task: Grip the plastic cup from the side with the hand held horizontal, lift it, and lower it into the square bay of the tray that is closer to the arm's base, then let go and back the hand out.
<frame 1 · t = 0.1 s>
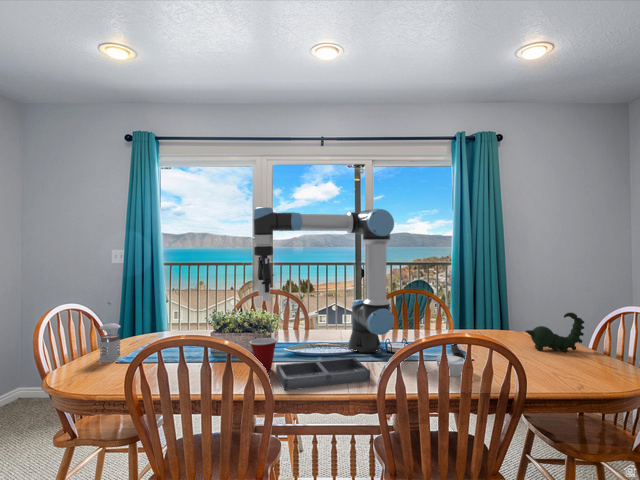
hand: (264, 298, 167), 28 cm above the table, tool pointing down, fingers open, 13 cm apart
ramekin: (450, 373, 161), on the table
tray: (322, 377, 155), on the table
french press: (109, 358, 179), on the table
plastic cup: (263, 370, 164), on the table
toy figurine: (553, 350, 191), on the table
hand tool: (454, 355, 184), on the table
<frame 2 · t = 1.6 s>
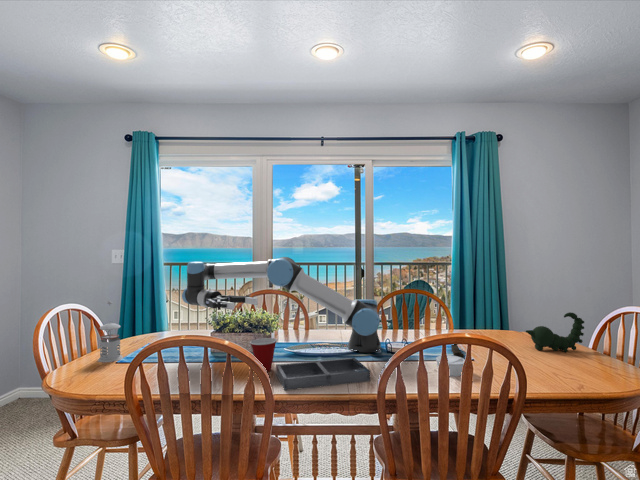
hand: (245, 303, 169), 25 cm above the table, tool horizontal, fingers open, 13 cm apart
nothing on the table moved.
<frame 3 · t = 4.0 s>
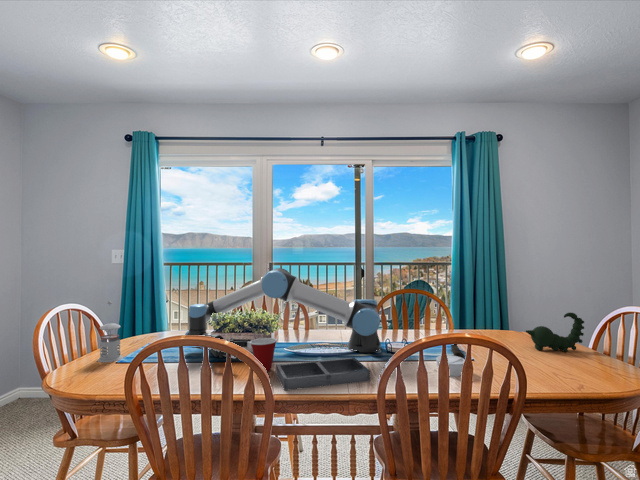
hand: (247, 350, 168), 6 cm above the table, tool horizontal, fingers open, 13 cm apart
nothing on the table moved.
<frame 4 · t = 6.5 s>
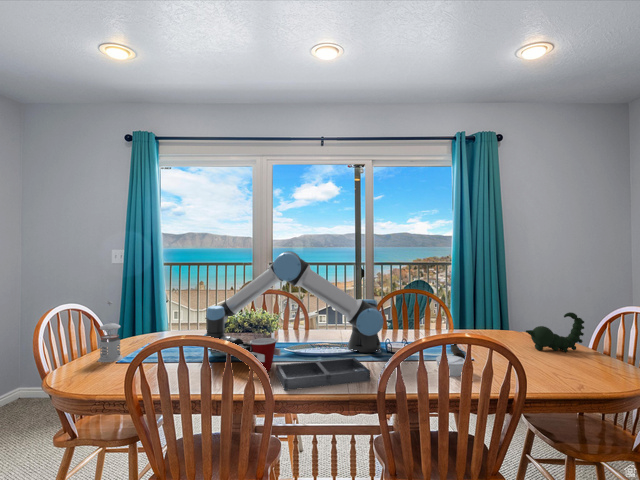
hand: (272, 355, 161), 7 cm above the table, tool horizontal, fingers closed on plastic cup, 9 cm apart
plastic cup: (263, 370, 164), on the table, touching gripper
everything else where it was.
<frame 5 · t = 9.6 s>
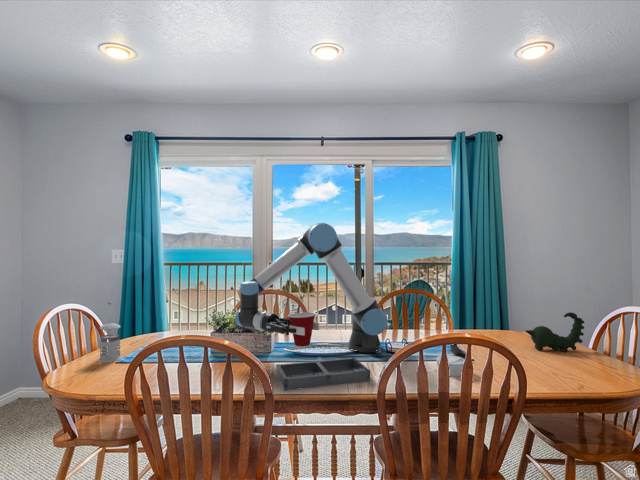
hand: (311, 329, 156), 18 cm above the table, tool horizontal, fingers closed on plastic cup, 9 cm apart
plastic cup: (301, 344, 158), point 11 cm above the table, touching gripper
everything else where it was.
when the fingers open (9 cm above the table, at t = 12.7 s): plastic cup drops 2 cm, point 1 cm above the table.
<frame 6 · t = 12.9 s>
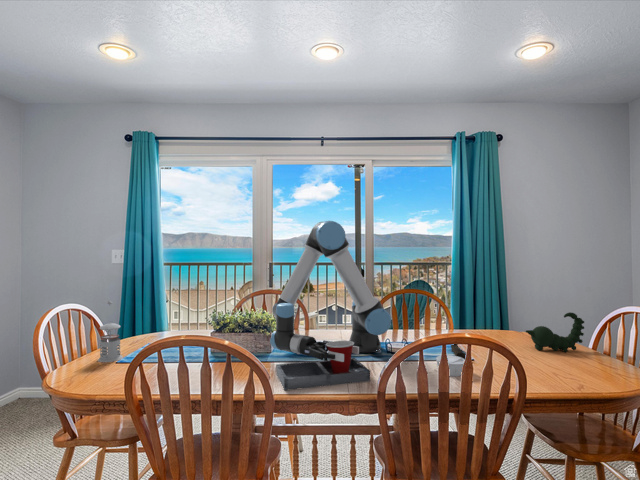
hand: (351, 354, 155), 9 cm above the table, tool horizontal, fingers open, 10 cm apart
plastic cup: (340, 374, 157), point 1 cm above the table, touching gripper
everything else where it was.
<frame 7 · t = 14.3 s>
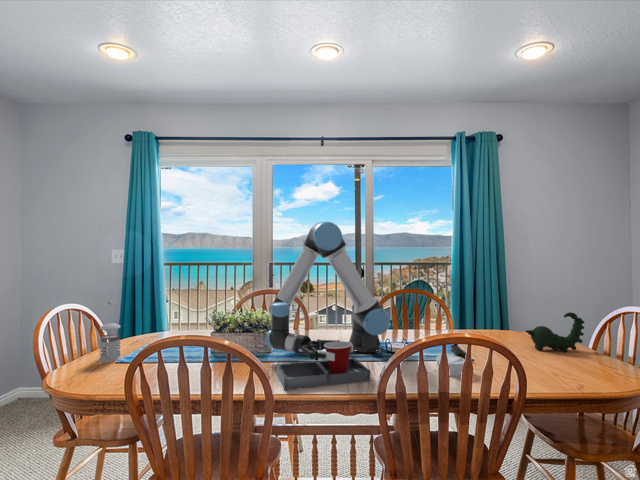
hand: (343, 352, 156), 9 cm above the table, tool horizontal, fingers open, 13 cm apart
plastic cup: (337, 375, 156), point 1 cm above the table, touching tray
everything else where it was.
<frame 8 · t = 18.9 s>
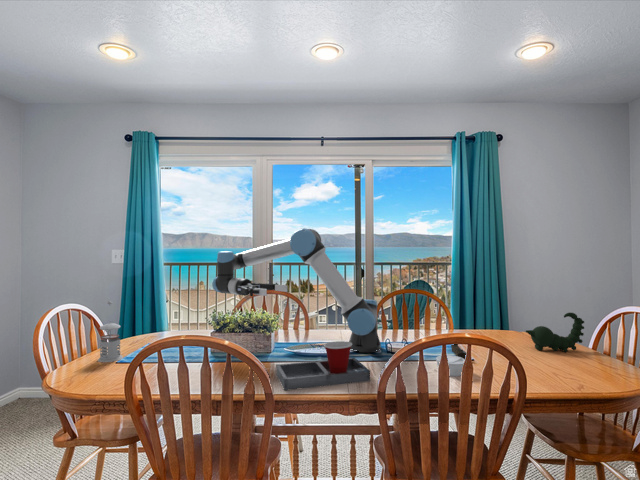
hand: (276, 290, 174), 30 cm above the table, tool horizontal, fingers open, 13 cm apart
nothing on the table moved.
at the end: plastic cup inside the target area on the tray (1.9 cm from its centre), point 0.6 cm above the tray's base; plastic cup tilted 0°; the gripper is holding nothing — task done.
